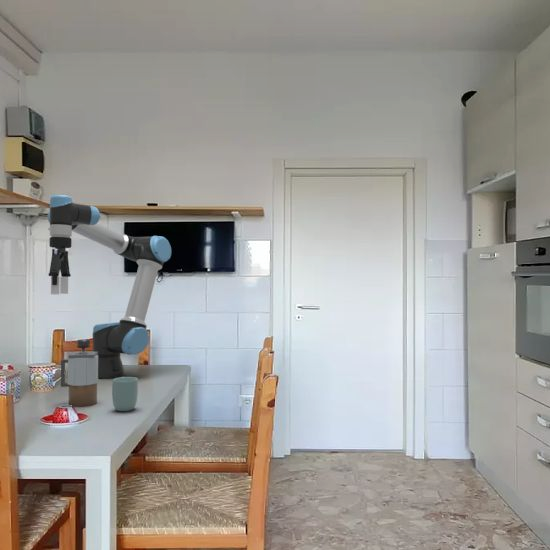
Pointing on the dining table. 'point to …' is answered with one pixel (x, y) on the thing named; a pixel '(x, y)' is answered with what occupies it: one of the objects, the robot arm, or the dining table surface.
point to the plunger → (83, 344)
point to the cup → (124, 393)
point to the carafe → (81, 378)
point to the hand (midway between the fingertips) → (59, 294)
